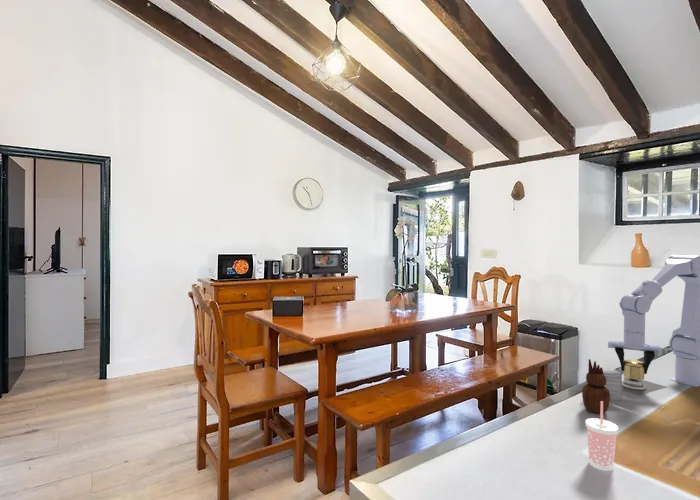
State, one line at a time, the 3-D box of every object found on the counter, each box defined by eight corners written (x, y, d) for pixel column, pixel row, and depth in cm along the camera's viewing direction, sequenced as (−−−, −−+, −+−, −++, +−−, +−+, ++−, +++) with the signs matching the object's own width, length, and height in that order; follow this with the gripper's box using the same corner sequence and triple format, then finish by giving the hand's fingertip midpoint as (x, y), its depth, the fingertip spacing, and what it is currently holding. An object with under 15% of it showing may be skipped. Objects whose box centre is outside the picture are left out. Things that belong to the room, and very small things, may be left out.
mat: (635, 378, 141) (635, 377, 141) (667, 388, 132) (667, 387, 132) (606, 385, 134) (606, 384, 134) (639, 396, 125) (639, 395, 125)
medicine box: (613, 395, 126) (614, 368, 126) (621, 401, 122) (622, 373, 121) (587, 394, 127) (587, 367, 127) (594, 400, 122) (595, 372, 122)
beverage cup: (587, 454, 91) (588, 394, 91) (619, 463, 88) (620, 400, 87) (582, 465, 87) (583, 402, 86) (616, 476, 83) (617, 409, 82)
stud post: (628, 381, 137) (628, 366, 137) (651, 388, 131) (651, 372, 131) (616, 385, 134) (616, 368, 134) (638, 392, 128) (638, 375, 128)
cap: (623, 373, 136) (623, 358, 136) (642, 375, 133) (642, 361, 133) (624, 377, 131) (624, 362, 131) (644, 380, 129) (645, 365, 128)
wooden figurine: (582, 412, 114) (583, 360, 113) (581, 405, 119) (582, 355, 118) (610, 417, 110) (611, 363, 110) (608, 409, 116) (609, 358, 115)
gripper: (609, 331, 132) (608, 371, 132) (664, 336, 125) (663, 379, 125) (607, 327, 138) (607, 365, 139) (660, 331, 131) (659, 372, 131)
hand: (633, 371), depth 132 cm, fingers closed on cap, 5 cm apart
